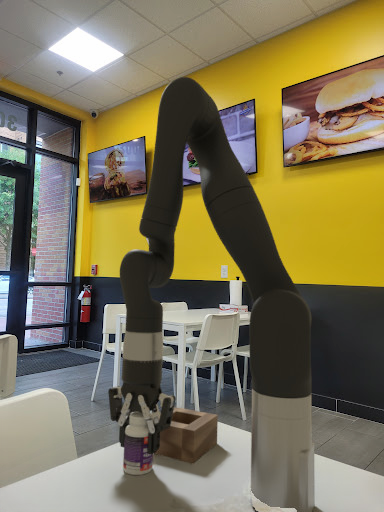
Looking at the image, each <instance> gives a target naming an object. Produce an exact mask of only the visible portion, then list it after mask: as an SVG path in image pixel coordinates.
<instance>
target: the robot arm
mask: <svg viewBox="0 0 384 512" xmlns="http://www.w3.org/2000/svg"><path fill="white" fill-rule="evenodd" d="M158 105H159V106H158V112H157V123H156V132H155V133H156V134H155V141H154V151H153V152H154V153H153V160H152V170H151V175H150V180H149V185H148V186H149V187H148V190H147V194H146V198H145V203H144V206H143V210H142V213H141V218H140V221H139V226H138V231H139V233H140V235H142V236H143V237H145V238H146V239H147V240H148V250H143V249H131V250H129V251H127V253H126V254H125V255H124V256H123V257H122V259H121V262H120V266H119V280H120V286H121V290H122V296H123V300H124V304H125V310H126V313H125V314H126V315H125V329H124V330H125V332H124V338H123V345H122V362H121V363H122V366H121V381H122V385H117V386H113V387H111V388H108V390H107V391H108V401H109V402H108V403H109V414H110V420H111V421H112V422H116V423H117V424H118V426H119V431H118V433H119V436H118V442H119V444H120V448H124V441H125V429H126V427H127V426H128V425H130V422H129V418H130V413H132V412H135V411H138V412H140V413H143V416H144V419H145V421H147V424H148V427H149V431H150V432H149V434H148V454H151V455H152V454H153V455H154V453H155V452H157V450H158V449H159V447H160V432H162V431H164V430H165V429H167V428H169V427H170V425H171V420H172V415H173V410H174V407H175V405H176V400H177V398H176V395H174V394H171V395H167V394H166V393H163V391H162V388H161V384H162V380H163V378H162V377H163V376H162V375H163V359H164V358H163V355H164V354H163V353H164V340H163V339H164V338H163V328H164V327H163V325H164V324H163V323H164V322H163V321H164V316H163V315H164V309H163V308H164V307H163V304H162V303H161V302H159V301H158V300H155V299H153V297H152V294H151V290H150V288H152V289H153V288H154V289H155V288H156V289H157V288H159V289H160V288H162V287H164V286H165V285H166V284H168V282H169V281H170V279H171V277H172V275H173V272H174V268H175V247H176V246H175V245H176V243H175V233H176V230H177V227H178V224H179V219H180V214H181V213H182V212H181V211H182V207H183V200H184V158H185V157H184V156H185V151H186V145H187V146H188V148H189V150H190V152H191V153H192V155H193V157H194V159H195V161H196V163H197V166H198V169H199V176H200V191H201V197H202V202H203V203H204V207H205V210H206V212H207V215H208V218H209V220H210V221H211V224H212V226H213V229H214V231H215V232H216V234H217V237H218V238H219V240H220V241H221V244H222V245H223V246H224V247H225V249H226V251H227V253H228V254H229V256H230V257H231V259H232V260H233V261H234V263H235V265H236V267H238V269H239V272H241V274H242V276H243V278H244V280H245V283H246V285H247V288H248V291H249V295H250V296H251V300H252V302H253V305H252V308H251V310H250V315H249V328H248V329H249V331H248V333H249V338H248V339H249V371H250V375H251V428H250V429H251V432H250V433H251V434H250V436H251V438H250V441H251V442H250V443H251V444H250V446H251V447H250V488H251V491H252V493H253V494H254V496H255V497H256V498H257V499H259V500H260V501H261V502H263V503H265V504H267V505H268V506H270V507H280V508H295V509H296V510H297V512H313V511H314V509H315V508H314V507H315V503H316V501H315V481H316V480H315V441H314V440H313V439H312V437H313V436H312V430H313V429H312V426H313V425H312V424H313V422H312V420H313V419H312V385H313V383H312V382H313V381H312V380H313V379H312V362H311V361H312V360H311V357H312V355H311V350H312V348H311V347H312V346H311V339H312V338H311V337H312V335H311V334H312V332H311V329H312V328H311V327H312V312H311V309H310V307H309V305H308V303H307V301H306V300H305V299H304V297H303V296H302V294H301V293H300V291H299V289H298V288H297V286H296V284H295V283H294V281H293V279H292V278H291V276H290V274H289V272H288V271H287V269H286V267H285V265H284V262H283V260H282V259H281V256H280V254H279V251H278V248H277V247H278V246H277V245H276V242H275V239H274V236H273V232H272V230H271V227H270V224H269V221H268V218H267V216H266V214H265V211H264V209H263V206H262V204H261V202H260V199H259V198H258V196H257V193H256V191H255V189H254V187H253V184H252V182H251V181H250V180H249V177H248V175H247V173H246V171H245V170H244V168H243V166H242V164H241V162H240V161H239V159H238V158H237V155H236V154H235V153H234V151H233V149H232V147H231V144H230V142H229V139H228V137H227V133H226V131H225V126H224V123H223V121H222V118H221V115H220V112H219V109H218V106H217V104H216V102H215V101H214V99H213V97H211V96H210V94H209V93H208V92H207V91H206V90H205V89H204V87H203V86H202V85H201V84H200V83H199V82H197V81H196V80H195V79H193V78H191V77H187V76H182V77H181V76H180V77H177V78H175V79H173V80H172V81H170V82H169V83H168V84H167V86H166V87H165V89H164V90H163V92H162V94H161V97H160V101H159V104H158ZM123 399H124V402H123ZM159 402H160V405H158V403H159ZM159 406H160V407H161V410H160V409H159ZM160 412H161V414H160ZM159 415H160V417H159ZM251 491H250V492H251Z"/></svg>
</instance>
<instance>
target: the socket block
mask: <svg viewBox="0 0 384 512" xmlns="http://www.w3.org/2000/svg"><path fill="white" fill-rule="evenodd" d="M159 412H160V414H161V411H159ZM218 416H219V415H218V414H215V413H208V412H204V411H198V410H194V409H193V410H192V409H187V408H182V407H178V406H177V407H176V406H174V410H173V415H172V420H171V425H170V427H169V428H167V429H165V430H164V431H162V432H160V447H159V449H158V450H157V452H155V453H154V454H155V455H158V456H162V457H166V458H170V459H172V460H178V461H182V462H185V463H188V464H195V463H196V462H198V461H199V460H200V459H201V458H202V457H204V455H206V453H208V452H209V451H210V450H212V448H214V447H215V446H216V445H217V444H218V421H219V419H218ZM159 417H160V415H159ZM154 454H153V455H154Z"/></svg>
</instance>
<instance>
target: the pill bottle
mask: <svg viewBox="0 0 384 512" xmlns="http://www.w3.org/2000/svg"><path fill="white" fill-rule="evenodd" d="M129 424H130V425H128V426H127V427H126V429H125V441H124V447H123V463H122V469H123V471H124V472H125V473H126V474H128V475H132V476H133V475H134V476H142V475H146V474H147V473H149V472H151V471H152V469H153V464H154V454H152V455H151V454H148V434H149V432H150V431H149V427H148V424H147V421H145V419H144V416H143V413H140V412H138V411H135V412H132V413H130V418H129Z"/></svg>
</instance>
